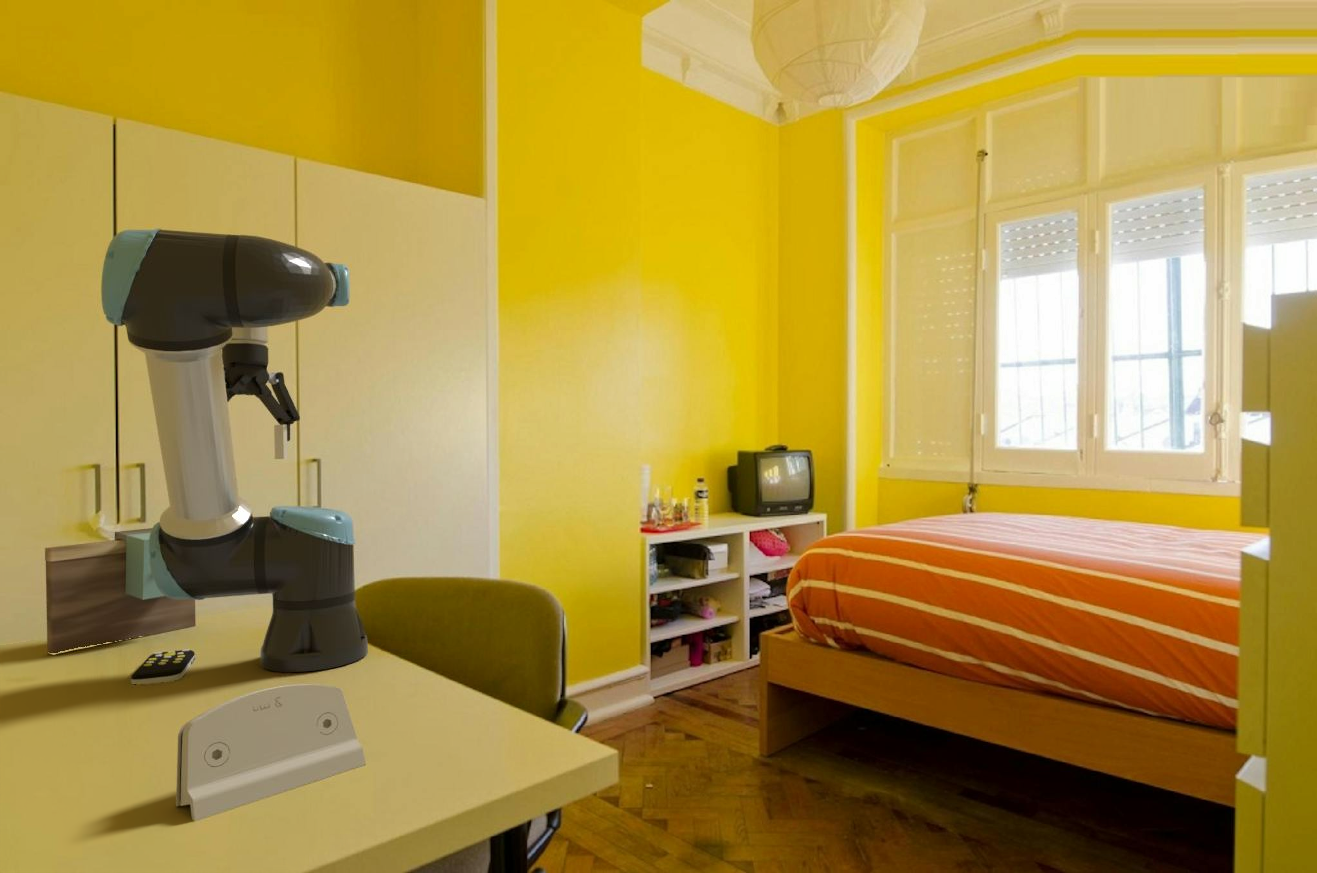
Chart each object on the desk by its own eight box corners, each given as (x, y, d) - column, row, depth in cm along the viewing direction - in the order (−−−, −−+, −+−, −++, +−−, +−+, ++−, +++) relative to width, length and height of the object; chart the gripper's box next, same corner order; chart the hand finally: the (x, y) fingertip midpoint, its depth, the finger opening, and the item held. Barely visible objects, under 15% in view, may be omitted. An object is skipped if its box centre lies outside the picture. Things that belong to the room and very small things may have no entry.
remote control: (128, 689, 109) (128, 675, 109) (150, 664, 121) (150, 651, 121) (180, 683, 111) (179, 669, 111) (196, 659, 123) (196, 647, 123)
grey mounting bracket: (189, 823, 70) (176, 708, 72) (174, 824, 73) (162, 714, 75) (369, 763, 82) (353, 667, 84) (350, 766, 85) (334, 673, 87)
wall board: (196, 626, 144) (194, 532, 144) (53, 655, 125) (51, 548, 125) (189, 624, 145) (187, 532, 145) (46, 653, 126) (44, 547, 126)
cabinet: (189, 593, 136) (191, 535, 136) (145, 600, 130) (147, 540, 130) (157, 582, 142) (158, 527, 142) (113, 589, 136) (114, 532, 136)
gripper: (293, 351, 157) (295, 458, 157) (162, 338, 135) (164, 462, 135) (318, 348, 153) (319, 457, 153) (187, 335, 131) (189, 462, 131)
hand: (247, 460), depth 144 cm, fingers open, 13 cm apart
